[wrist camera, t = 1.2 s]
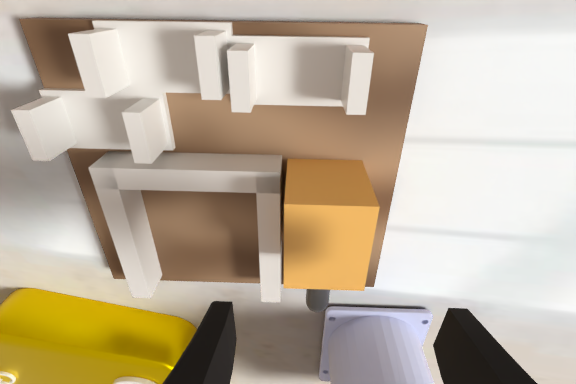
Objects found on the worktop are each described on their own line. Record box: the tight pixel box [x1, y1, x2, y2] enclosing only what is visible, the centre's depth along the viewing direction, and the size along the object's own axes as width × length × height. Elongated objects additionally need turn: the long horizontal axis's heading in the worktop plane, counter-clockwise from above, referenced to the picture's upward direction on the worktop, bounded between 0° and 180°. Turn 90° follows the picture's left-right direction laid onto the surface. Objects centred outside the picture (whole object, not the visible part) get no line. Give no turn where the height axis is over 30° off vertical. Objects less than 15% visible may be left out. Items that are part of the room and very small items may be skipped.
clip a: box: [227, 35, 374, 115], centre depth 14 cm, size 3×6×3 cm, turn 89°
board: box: [19, 18, 428, 287], centre depth 19 cm, size 16×18×1 cm
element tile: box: [0, 288, 197, 384], centre depth 28 cm, size 15×15×5 cm
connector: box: [284, 159, 380, 312], centre depth 18 cm, size 9×4×4 cm, turn 179°
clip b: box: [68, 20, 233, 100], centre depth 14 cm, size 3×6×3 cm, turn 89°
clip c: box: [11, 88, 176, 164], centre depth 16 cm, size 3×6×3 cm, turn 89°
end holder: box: [88, 151, 282, 302], centre depth 19 cm, size 9×9×2 cm
